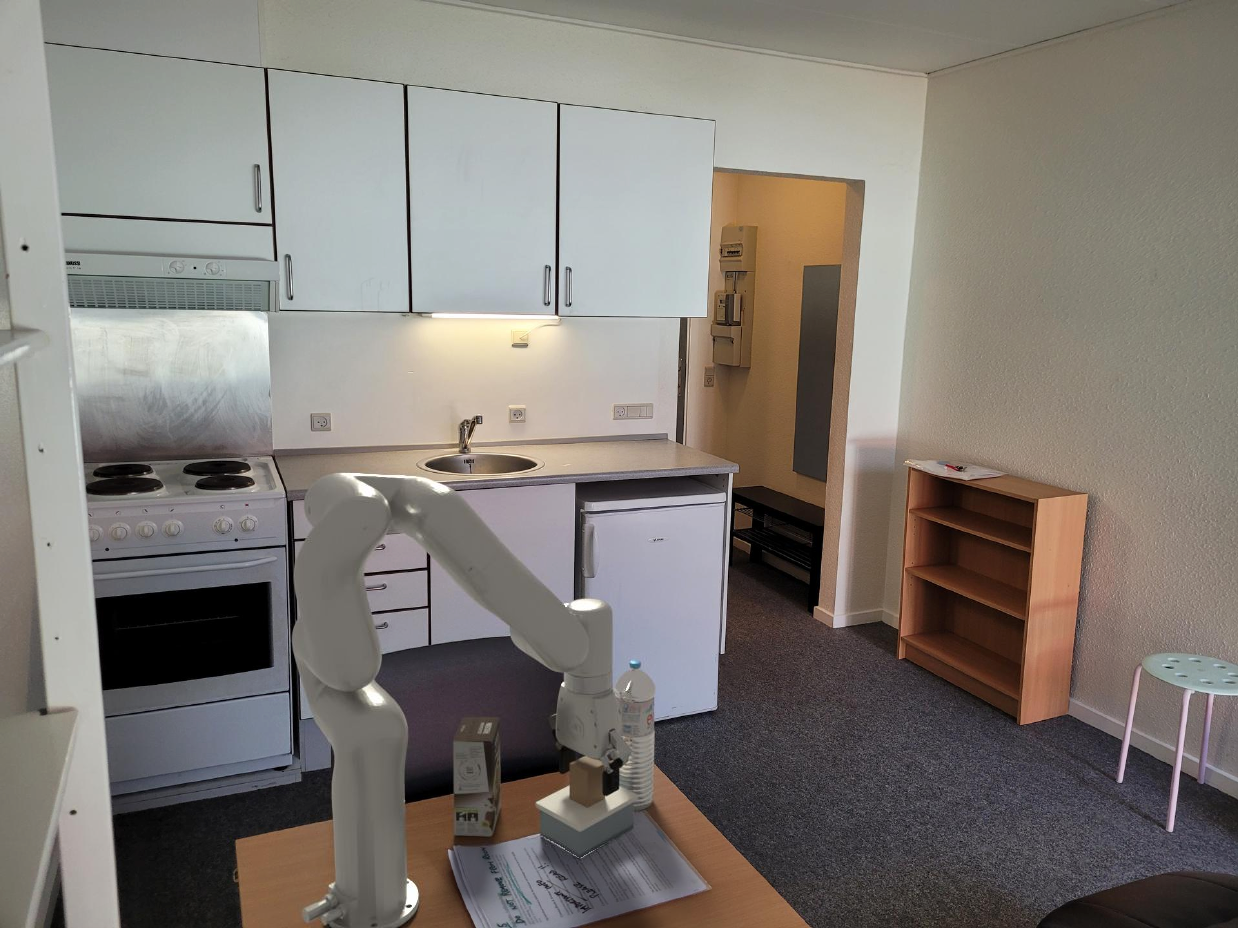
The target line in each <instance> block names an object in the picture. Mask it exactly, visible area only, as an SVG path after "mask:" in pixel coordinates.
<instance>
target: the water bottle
mask: <svg viewBox="0 0 1238 928" xmlns="http://www.w3.org/2000/svg"><path fill="white" fill-rule="evenodd" d="M641 667H642V662H641V661H640V660H638V659H632V660H629V669H628V670H627V671H625V672H623V673H622V674H621V675H620V676H619V677H618V678H617V680H616V682H615V684H614V687H613V690H614V691H615V696H616V702H617V709H618V719H619V735H620V737H621V738H622V739H623V740H624V741H625V742H626V743H627V744H628V745H629V746H630V748H631V749H632V753H631V755H630V757H629V759H628V762H627V763H626V764H624V765H623V767H621V768H620V782H619V786H621V787H623V788H625V789H627V790H629V791H631V792H633V793H635V794H637V795H638V800H636V801H635V802H634V812H637V811H643V810H645V809H647V808H649V807H650V806H651V805H652V804H653V801H654V800H653V799H654V775H655V773H654V772H655V771H654V770H655V767H654V765H655V696H656V685H655V682H654V681H653V679H652V678H651V677H650V676H649V675H648V673H646V672H644V671H643V670H642V668H641ZM617 752H618V750H617ZM618 754H619V752H618Z"/></svg>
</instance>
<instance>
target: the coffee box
mask: <svg viewBox="0 0 1238 928" xmlns="http://www.w3.org/2000/svg"><path fill="white" fill-rule="evenodd" d="M500 720H501V718H500V716H499V717H497V716H476V717H472V716H471V717H469V716H468V717H467V716H463V717H462V718H461V721H460V723H459V726H458V728H457V730H456V732H455V735H454V737H453V740H452V746H453V747H452V749H453V754H452V755H453V756H452V757H453V761H452V762H453V764H452V765H453V769H452V770H453V818H454V820H453V821H454V822H453V825H454V827H453V835H454V836H467V837H493V835H494V831H495V829H496V825H497V823H498V822H497V821H498V818H499V814H500V812H501V807H502V801H501V800H502V799H501V798H502V797H501V796H502V795H501V787H502V786H501V783H502V782H501V735H500V734H501V724H500V723H501V721H500Z"/></svg>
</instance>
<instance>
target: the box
mask: <svg viewBox="0 0 1238 928" xmlns="http://www.w3.org/2000/svg"><path fill="white" fill-rule="evenodd" d="M634 813H635V811H634V802H633V803H631V804H629V805H627V806H626V807H624V808H622V809H620V810H618V811H617V812H615V813H613V814H611V815H610V816H608V817H606V818H604V819H602V820H601V821H599V822H597V823H595V824H593V825H592V826H590V827H588V828H586V829H585V830H583V831H581V832H579V831H577V830H576V829H574V828H572V827H570V826H568V825H567V824H565V823H563V822H561V821H559V820H558V819H556V818H554V817H552V816H551V815H549V814H547V813H545V812H543V811H542V810H540V809H539V837H540V836H543V837H545V838H546V839H549V840H550V841H553V842H554V843H556V844H558V845H560V846H561V847H563V848H565V850H567V851H569V852H571V853H572V854H574V855H576V856H577V857H579V858H581V857H583V856H584V855H586V854H588V853H589V852H591V851H593V850H595V849H597V848H599V847H600V846H602V845H604V844H606V843H607V844H609V843H610V842H609V841H611V842H613V841H614V840H616V839H617V837H618V838H620V837H621V836H623V835H624V834H626V833H627V832H629V831H631V830H633V829H634ZM632 828H633V829H632ZM622 834H623V835H622ZM615 838H616V839H615ZM613 839H614V840H613ZM612 840H613V841H612ZM608 842H609V843H608ZM607 844H606V845H607ZM604 846H605V845H604ZM602 847H603V846H602ZM599 849H600V848H599ZM597 850H598V849H597Z"/></svg>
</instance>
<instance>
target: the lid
mask: <svg viewBox="0 0 1238 928" xmlns="http://www.w3.org/2000/svg"><path fill="white" fill-rule="evenodd" d="M603 771H605V768H604V766H603V764H602V762H601V760H600V759H598V760H595V759H592V758H589V757H587V756H585V755H584V756H582V757H580V758H578V759H576V761H574V762H571V763H570V771H569V785H567V786H566V787H563V788H562V789H559V790H557V791H555V792H553V793H552V794H549V795H548V796H546V797H543V798H542V799H540V800H537V801H536V802H535V808H536V809H538V810H539V811H540V810H542V811H543V812H545V813H547V814H549V815H551V816H552V817H554V818H556V819H558V820H559V821H561V822H563V823H565V824H567V825H568V826H570V827H572V828H574V829H576V830H577V831H579V832H581V831H583V830H585V829H586V828H588V827H590V826H592V825H593V824H595V823H597V822H599V821H601V820H602V819H604V818H606V817H608V816H610V815H611V814H613V813H615V812H617V811H618V810H620V809H622V808H624V807H626V806H627V805H629V804H631V803H633V802H635V801H636V800H638V795H637V794H635V793H633V792H631V791H629V790H627V789H625V788H623V787H621V786H619V790H617V791H616V792H614V793H612V794H610V795H608V796H604V795H603V793H602V773H603Z"/></svg>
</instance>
